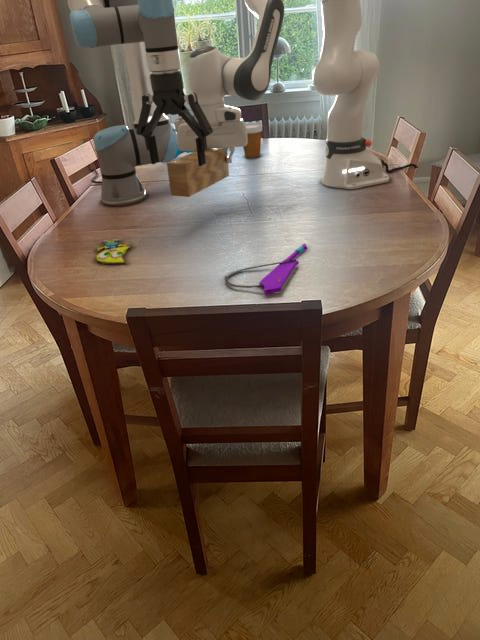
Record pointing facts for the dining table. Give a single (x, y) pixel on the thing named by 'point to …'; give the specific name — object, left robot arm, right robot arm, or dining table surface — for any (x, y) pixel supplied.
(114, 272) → the dining table surface
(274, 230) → the dining table surface
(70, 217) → the dining table surface
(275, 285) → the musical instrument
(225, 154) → the bar
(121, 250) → the toy
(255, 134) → the glass of beer
